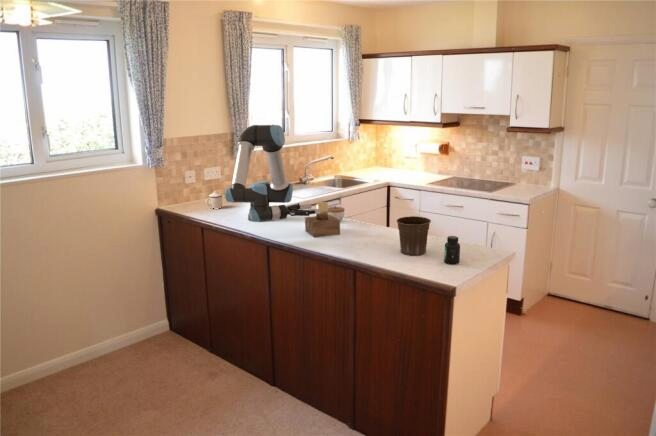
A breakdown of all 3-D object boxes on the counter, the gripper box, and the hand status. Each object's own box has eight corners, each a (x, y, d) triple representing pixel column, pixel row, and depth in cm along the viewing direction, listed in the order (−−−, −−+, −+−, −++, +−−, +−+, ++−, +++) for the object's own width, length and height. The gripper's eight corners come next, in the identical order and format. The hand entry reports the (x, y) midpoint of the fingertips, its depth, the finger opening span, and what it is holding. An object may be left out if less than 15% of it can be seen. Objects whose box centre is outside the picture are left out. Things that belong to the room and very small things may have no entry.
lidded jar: (333, 218, 333) (333, 203, 331) (348, 220, 327) (347, 205, 325) (323, 222, 324) (323, 206, 322) (338, 224, 318) (337, 208, 316)
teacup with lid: (219, 206, 373) (218, 189, 370) (225, 208, 366) (224, 191, 364) (203, 208, 366) (201, 191, 363) (209, 210, 359) (208, 193, 356)
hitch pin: (315, 230, 302) (314, 202, 298) (325, 229, 304) (325, 201, 300) (319, 233, 296) (318, 204, 292) (329, 231, 298) (329, 203, 294)
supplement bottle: (443, 263, 244) (444, 238, 241) (445, 259, 250) (446, 234, 248) (458, 265, 242) (459, 239, 239) (460, 261, 248) (461, 235, 245)
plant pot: (407, 259, 252) (408, 225, 248) (390, 250, 266) (390, 218, 263) (436, 254, 258) (437, 222, 254) (418, 245, 273) (418, 215, 269)
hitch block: (305, 231, 304) (304, 217, 302) (329, 228, 310) (329, 214, 308) (314, 237, 291) (314, 223, 289) (340, 234, 296) (339, 220, 294)
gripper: (272, 214, 299) (307, 210, 307) (285, 224, 277) (324, 219, 285) (271, 201, 298) (307, 197, 306) (285, 210, 275) (323, 206, 283)
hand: (315, 208), depth 295 cm, fingers open, 13 cm apart
